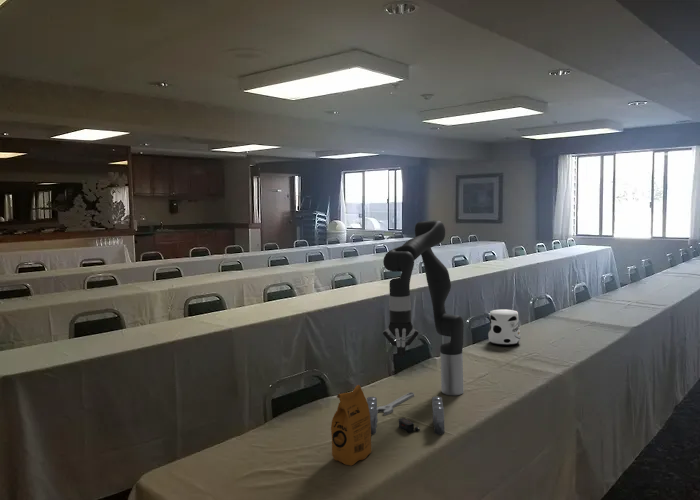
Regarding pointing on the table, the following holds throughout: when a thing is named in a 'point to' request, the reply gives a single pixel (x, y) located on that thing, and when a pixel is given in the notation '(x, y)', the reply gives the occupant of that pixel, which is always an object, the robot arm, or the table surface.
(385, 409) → the adjustable wrench
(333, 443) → the coffee package
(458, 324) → the robot arm
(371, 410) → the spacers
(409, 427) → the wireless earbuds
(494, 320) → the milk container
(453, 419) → the table surface
